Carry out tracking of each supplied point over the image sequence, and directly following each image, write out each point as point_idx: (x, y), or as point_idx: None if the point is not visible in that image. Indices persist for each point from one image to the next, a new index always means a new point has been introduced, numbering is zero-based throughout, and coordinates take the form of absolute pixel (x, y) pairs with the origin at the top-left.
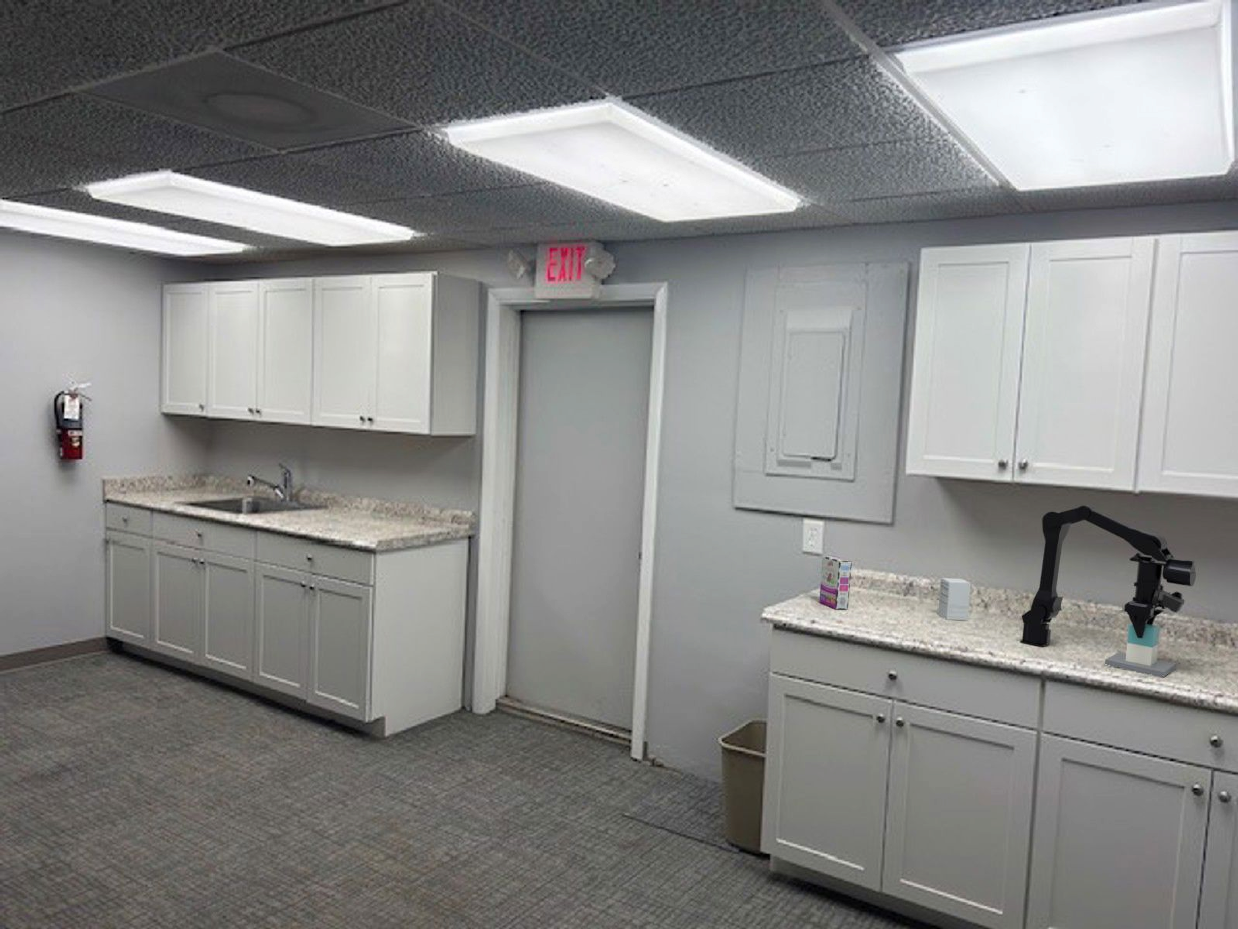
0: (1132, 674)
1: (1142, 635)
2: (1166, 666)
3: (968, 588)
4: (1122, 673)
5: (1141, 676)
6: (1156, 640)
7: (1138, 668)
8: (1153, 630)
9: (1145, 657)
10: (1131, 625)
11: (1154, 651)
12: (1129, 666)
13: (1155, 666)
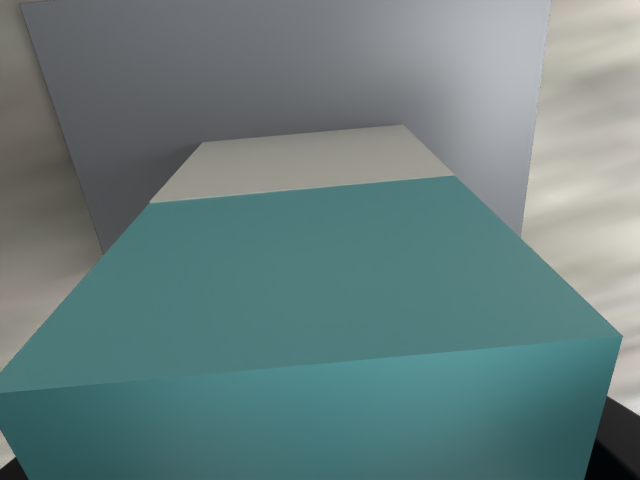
0: (610, 163)
1: None
2: (271, 24)
3: None
4: (636, 212)
5: (623, 101)
6: (244, 222)
7: (524, 168)
8: (602, 325)
9: None
10: None
11: (311, 166)
12: (516, 229)
13: (378, 91)
